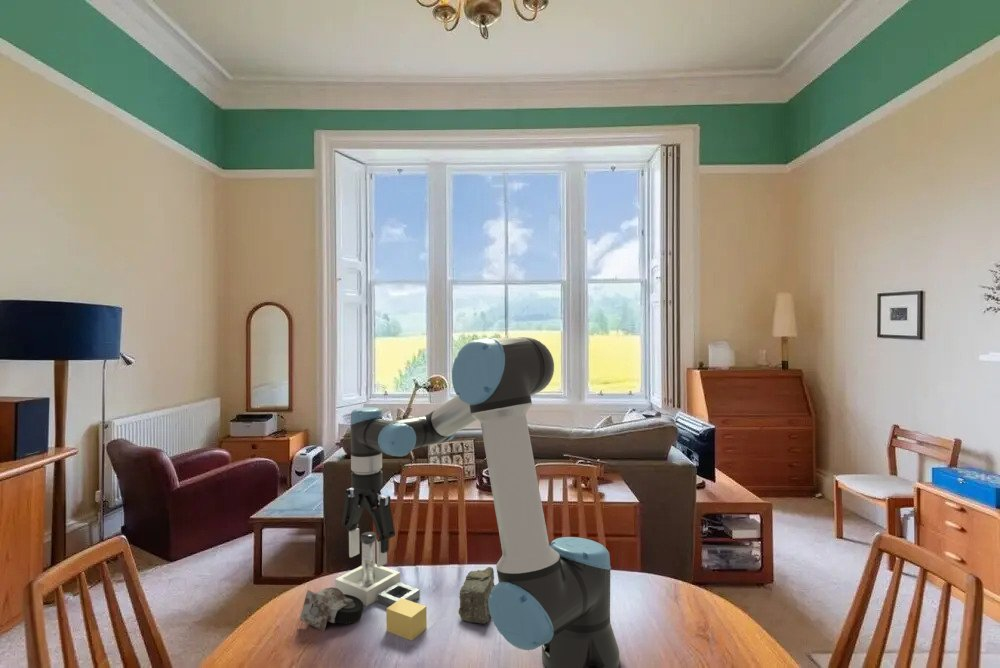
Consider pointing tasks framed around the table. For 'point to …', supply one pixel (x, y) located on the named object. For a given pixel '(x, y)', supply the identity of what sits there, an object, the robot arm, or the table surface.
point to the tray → (353, 586)
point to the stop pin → (368, 558)
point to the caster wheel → (330, 608)
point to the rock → (476, 596)
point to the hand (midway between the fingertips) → (367, 559)
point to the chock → (406, 618)
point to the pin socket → (398, 588)
